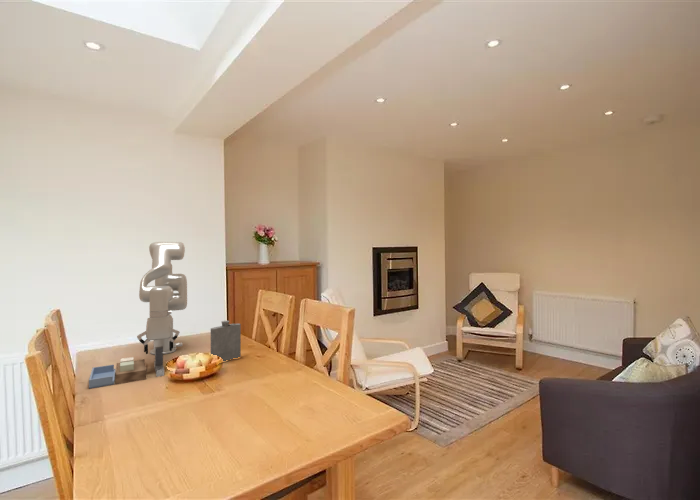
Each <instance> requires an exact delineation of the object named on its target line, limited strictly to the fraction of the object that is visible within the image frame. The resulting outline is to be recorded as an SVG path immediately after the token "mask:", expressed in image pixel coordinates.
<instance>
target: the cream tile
mask: <svg viewBox="0 0 700 500" xmlns="http://www.w3.org/2000/svg"><path fill="white" fill-rule="evenodd" d="M130 361H135V359H134V356H131V357H124V358H123V357H122V358H120V361H119V363H123V362H130Z"/></svg>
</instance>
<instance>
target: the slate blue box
mask: <svg viewBox="0 0 700 500" xmlns="http://www.w3.org/2000/svg"><path fill="white" fill-rule="evenodd" d="M115 383H116V368H115V364H110V365H109V364H108V365H107V364H106V365H102V366H95V367H92V369H91V372H90V374H89V378H88V389H97V388H103V387H107V386H113V385H115Z"/></svg>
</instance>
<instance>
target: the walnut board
mask: <svg viewBox="0 0 700 500" xmlns="http://www.w3.org/2000/svg"><path fill="white" fill-rule="evenodd" d="M146 367H147V366H146V361H145V358H144V359H136V360H135V359H134V370H130V371H123V372H120V362H116V367H115V385H121V384H126V383H133V382H138V381H144V380H147V368H146Z"/></svg>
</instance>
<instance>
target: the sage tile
mask: <svg viewBox="0 0 700 500" xmlns="http://www.w3.org/2000/svg"><path fill="white" fill-rule="evenodd" d="M134 361H135V360H134ZM134 361H130V362H123V363H120V362H119V363H120V372H123V371H130V370H134Z"/></svg>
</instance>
